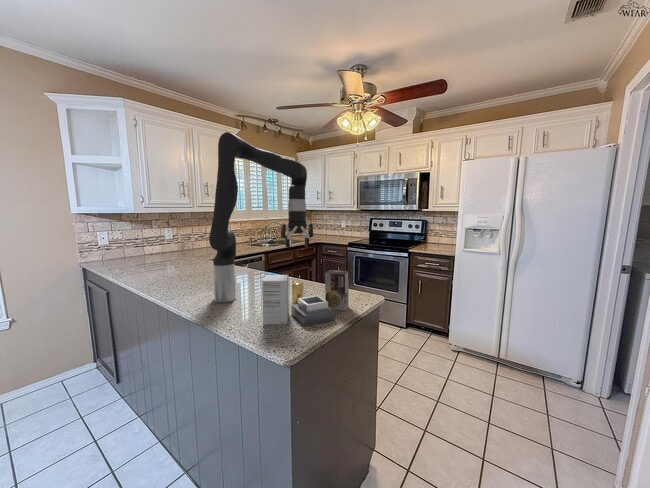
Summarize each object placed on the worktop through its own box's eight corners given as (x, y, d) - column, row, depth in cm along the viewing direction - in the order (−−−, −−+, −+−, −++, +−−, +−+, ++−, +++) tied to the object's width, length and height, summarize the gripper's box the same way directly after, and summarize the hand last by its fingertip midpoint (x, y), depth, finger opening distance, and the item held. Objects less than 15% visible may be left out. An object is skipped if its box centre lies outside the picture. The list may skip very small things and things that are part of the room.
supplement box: (266, 315, 110) (265, 274, 108) (289, 314, 111) (288, 274, 109) (262, 325, 100) (261, 280, 98) (287, 324, 101) (287, 280, 99)
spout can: (294, 307, 119) (294, 285, 118) (288, 302, 125) (288, 281, 124) (305, 305, 121) (305, 283, 120) (299, 301, 128) (298, 280, 126)
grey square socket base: (304, 326, 100) (303, 307, 99) (291, 314, 111) (291, 297, 110) (334, 320, 105) (335, 302, 105) (320, 309, 117) (320, 293, 116)
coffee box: (348, 306, 121) (349, 270, 119) (345, 311, 115) (345, 274, 113) (329, 304, 124) (329, 269, 122) (324, 308, 117) (324, 272, 116)
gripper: (308, 210, 124) (308, 245, 126) (278, 210, 117) (279, 247, 119) (315, 210, 117) (315, 247, 119) (284, 210, 111) (284, 249, 113)
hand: (297, 247), depth 119 cm, fingers open, 8 cm apart
